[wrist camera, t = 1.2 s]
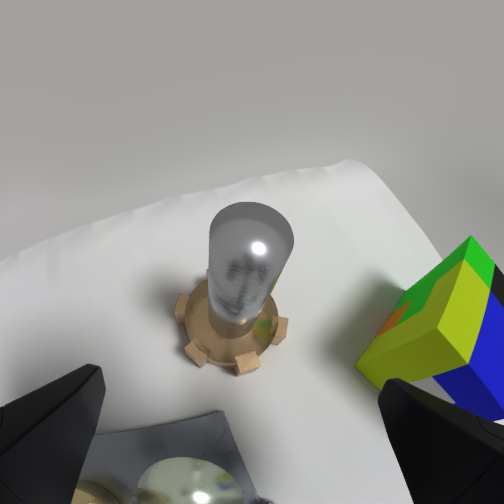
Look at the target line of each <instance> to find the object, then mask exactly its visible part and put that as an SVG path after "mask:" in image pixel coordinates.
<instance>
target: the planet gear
mask: <svg viewBox="0 0 504 504" xmlns="http://www.w3.org/2000/svg"><path fill="white" fill-rule="evenodd" d="M293 245H294V236H293V232H292V229H291V226H290V225H289V223H288V221H287V220H286V219H285V218H284V217H283V216H282V215H281V214H280V213H279V212H278V211H276V210H275V209H273V208H271V207H269V206H267V205H264V204H260V203H256V202H239V203H235V204H232V205H229V206H227V207H225V208H224V209H222V210H221V211H220V212H219V213H218V214H217V215H216V216H215V217H214V219H213V221H212V223H211V226H210V234H209V269H207V280H205V281H204V282H202V283H201V284H200V285H198V286H197V287H196V288H195V290H194V291H193V292H192V293H191V295H190V296H189V295H185V294H181V293H180V295H179V298H178V301H177V304H176V307H175V310H174V312H175V315H176V318H177V321H178V323H182V324H185V326H186V330H187V334H188V337H189V340H190V343H189V344H188V345H187V346H186V347H185V348H184V349H185V352H186V354H187V356H188V357H189V358H190V359H191V360H192V361H194V362H195V363H196V364H197V365H198V366H199V367H200V368H202V367H203V366H204V365H205V364H206V363H207V362H210V363H212V364H214V365H217V366H220V367H229V368H233V367H234V370H235V373H236V376H240V375H244V374H247V373H250V372H253V371H255V370H257V369H258V368H259V367H260V366H261V365H260V362H259V359H258V357H259V356H260V355H261V354H262V353H263V352H264V351H265V350H266V349H267V348H268V346H269V345H270V344H272V345H278V344H279V343H280V342H281V341H282V340H283V339H284V338H286V332H287V325H288V318H284V317H279V316H278V311H277V307H276V304H275V302H274V300H273V298H272V297H271V295H270V294H271V292H272V290H273V288H274V286H275V284H276V282H277V280H278V278H279V276H280V274H281V272H282V270H283V268H284V266H285V264H286V262H287V260H288V258H289V256H290V254H291V252H292V249H293Z"/></svg>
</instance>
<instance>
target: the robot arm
mask: <svg viewBox="0 0 504 504" xmlns="http://www.w3.org/2000/svg"><path fill="white" fill-rule="evenodd" d="M105 391H106V388H105V382H104V378H103V373H102V369H101V367H100V366H97V365H93V364H86V365H84V366H82V367H80V368H78V369H76V370H74V371H72V372H70V373H68V374H66V375H64V376H63V377H61V378H59V379H57V380H55V381H53V382H51V383H49V384H47V385H45V386H43V387H41V388H39V389H37V390H35V391H33V392H31V393H29V394H27V395H25V396H23V397H21V398H18V399H16V400H14V401H12V402H10V403H8V404H6V405H4V407H3V406H2V407H0V504H71V502H72V499H73V496H74V492H75V489H76V486H77V483H78V480H79V476H80V473H81V470H82V467H83V465H84V462H85V459H86V456H87V453H88V450H89V448H90V445H91V442H92V439H93V437H94V434H95V430H96V427H97V423H98V419H99V415H100V411H101V407H102V403H103V399H104V396H105ZM378 405H379V408H380V412H381V415H382V418H383V422H384V425H385V428H386V432H387V435H388V438H389V441H390V443H391V446H392V448H393V451H394V453H395V456H396V458H397V461H398V463H399V466H400V468H401V471H402V473H403V476H404V479H405V481H406V484H407V487H408V489H409V492H410V495H411V497H412V500H413V503H414V504H504V425H501V424H498V423H495V422H493V421H490V420H488V419H485V418H483V417H480V416H478V415H475V414H474V413H471V412H469V411H467V410H465V409H462V408H460V407H458V406H456V405H454V404H451V403H449V402H447V401H445V400H443V399H441V398H439V397H437V396H434V395H432V394H430V393H428V392H426V391H424V390H422V389H420V388H418V387H416V386H414V385H412V384H410V383H408V382H406V381H404V380H402V379H400V378H391V379H387V380H386V382H385V383H384V386H383V388H382V390H381V392H380V394H379V397H378Z"/></svg>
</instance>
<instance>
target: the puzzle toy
mask: <svg viewBox="0 0 504 504" xmlns="http://www.w3.org/2000/svg"><path fill="white" fill-rule="evenodd" d="M354 366H355V367H356V368H357V369H358V370H359V371H360V372H361V373H362V374H363V375H364V376H365V377H366V378H367V379H368V380H369V381H370V382H371V383H373V384H374V385H375V386H376V387H377V388H378V389H379V390H380V391H381V390H382V388H383V386H384V383H385V382H386V380H387V379H391V378H400V379H402V380H404V381H406V382H408V383H410V384H412V385H414V386H416V387H418V388H420V389H422V390H424V391H426V392H428V393H430V394H432V395H434V396H437V397H439V398H441V399H443V400H445V401H447V402H449V403H451V404H454V405H456V406H458V407H460V408H462V409H465V410H467V411H469V412H471V413H474V414H475V415H478V416H480V417H483V418H485V419H488V420H490V421H497V420H501V419H504V275H503V273H502V272H501V271H500V270H499V268H498V267H497V266H496V264H495V263H494V262H493V260H492V259H491V258H490V257H489V256H488V254H487V253H486V252H485V251H484V250H483V248H482V247H481V246H480V245H479V244H478V242H477V241H476V240H475V239H474V238H473V237H472V236H470V237H468V238H467V239H466V240H465V241H464V242H463V243H462V244H461V245H460V246H459V247H458V248H457V249H456V250H455V251H453V252H452V253H451V254H450V255H449V256H448V257H447V258H446V259H444V260H443V261H442V262H441V263H440V264H439V265H437V266H436V267H435V268H434V269H433V270H431V271H430V272H429V273H428V274H427V275H425V276H424V277H423V278H422V279H421V280H419V281H418V282H417V283H416V284H414V285H413V286H412V287H410V288H409V289H408V290H407V291H406V292H405V293H404V295H403V297H402V298H401V300H400V301H399V303H398V305H397V306H396V308H395V309H394V311H393V312H392V314H391V315H390V317H389V318H388V320H387V321H386V323H385V324H384V326H383V327H382V329H381V330H380V332H379V333H378V334H377V336H376V337H375V339H374V340H373V341H372V343H371V344H370V345H369V347H368V348H367V349H366V351H365V352H364V353H363V355H362V356H361V357H360V359H359V360H358V361H357V363H356V364H355V365H354Z"/></svg>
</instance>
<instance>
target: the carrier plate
mask: <svg viewBox="0 0 504 504" xmlns="http://www.w3.org/2000/svg"><path fill="white" fill-rule="evenodd" d="M71 504H262V503H261V501H260V499H259V497H258V494H257V492H256V490H255V488H254V486H253V484H252V481H251V479H250V477H249V474H248V472H247V470H246V468H245V465H244V463H243V460H242V458H241V456H240V453H239V451H238V448H237V446H236V443H235V441H234V438H233V436H232V433H231V431H230V428H229V425H228V423H227V420H226V417H225V415H224V412H223V411H220V412H217V413H213V414H209V415H206V416H202V417H198V418H194V419H189V420H185V421H181V422H176V423H171V424H166V425H161V426H156V427H151V428H145V429H138V430H132V431H125V432H117V433H108V434H98V435H94V437H93V439H92V442H91V445H90V448H89V450H88V453H87V456H86V459H85V462H84V465H83V467H82V470H81V473H80V476H79V480H78V483H77V486H76V489H75V492H74V496H73V499H72V502H71ZM267 504H273V503H270V502H268V503H267Z"/></svg>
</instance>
